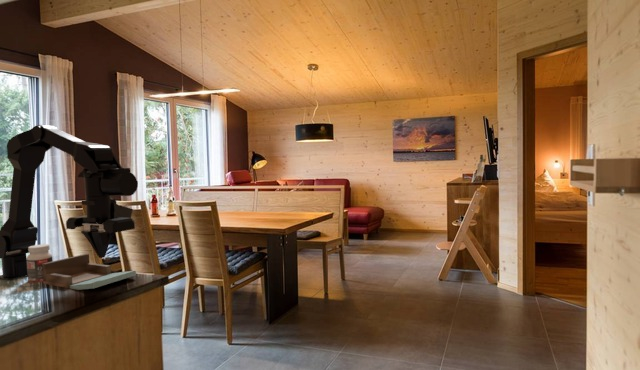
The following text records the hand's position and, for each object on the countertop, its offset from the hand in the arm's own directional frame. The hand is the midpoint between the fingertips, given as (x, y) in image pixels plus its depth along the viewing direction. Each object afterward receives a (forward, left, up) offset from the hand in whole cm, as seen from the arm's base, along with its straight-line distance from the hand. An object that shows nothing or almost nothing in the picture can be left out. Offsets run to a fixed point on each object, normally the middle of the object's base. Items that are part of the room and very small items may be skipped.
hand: (102, 257), depth 108 cm
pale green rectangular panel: (-4, 0, -7) cm, 8 cm away
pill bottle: (-20, -4, -8) cm, 22 cm away
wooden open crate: (-10, 0, -8) cm, 13 cm away
